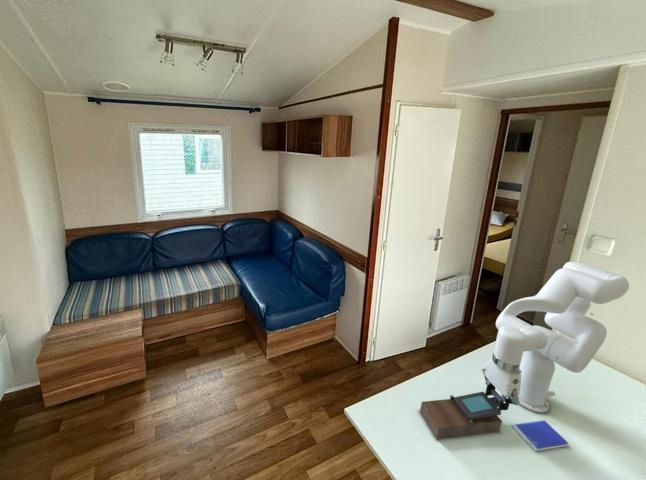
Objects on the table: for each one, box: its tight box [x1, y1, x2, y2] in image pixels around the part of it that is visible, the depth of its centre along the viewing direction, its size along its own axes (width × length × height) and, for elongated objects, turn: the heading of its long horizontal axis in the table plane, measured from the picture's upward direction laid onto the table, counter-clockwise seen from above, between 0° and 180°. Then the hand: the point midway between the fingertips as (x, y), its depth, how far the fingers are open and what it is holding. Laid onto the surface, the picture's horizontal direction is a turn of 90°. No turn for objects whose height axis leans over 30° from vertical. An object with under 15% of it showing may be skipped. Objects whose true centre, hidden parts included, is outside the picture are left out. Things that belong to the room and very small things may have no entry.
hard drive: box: [513, 420, 569, 452], centre depth 100 cm, size 2×8×12 cm
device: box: [453, 389, 502, 421], centre depth 104 cm, size 16×8×4 cm, turn 97°
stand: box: [419, 394, 503, 440], centre depth 104 cm, size 24×10×7 cm, turn 97°
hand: (496, 401), depth 105 cm, fingers closed on device, 5 cm apart
